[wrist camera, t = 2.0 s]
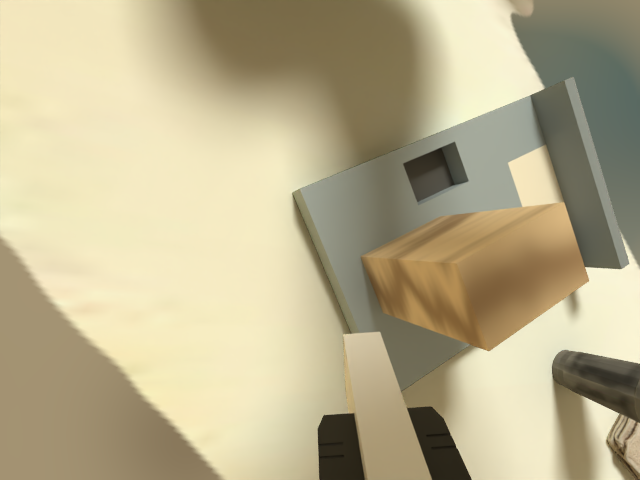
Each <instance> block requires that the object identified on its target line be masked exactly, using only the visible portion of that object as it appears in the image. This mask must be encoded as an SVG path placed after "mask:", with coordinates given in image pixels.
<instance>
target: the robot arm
mask: <svg viewBox="0 0 640 480" xmlns="http://www.w3.org/2000/svg"><path fill="white" fill-rule="evenodd" d="M343 345H344V368H345V390H346V397H347V404H348V411H349V414H335V415H324V416H323V418H322V420H321V423H320V425H319V427H318V449H319V479H320V480H472V479H471V477H470V475H469V473H468V471H467V469H466V466H465V464H464V462H463V460H462V458H461V456H460V453H459V451H458V449H456V445H455V443H454V440H453V438H452V436H451V435H450V432H449V430H448V428H447V425H446V423H445V421H444V419H443V418H442V417H441V416H440V415H439V414H438V413H437V412H436V411H435V410H434V409H433V408H432V407H417V408H407V407H406V404H405V402H404V399H403V396H402V393H401V390H400V387H399V385H398V382H397V379H396V376H395V373H394V370H393V367H392V365H391V362H390V359H389V356H388V353H387V350H386V348H385V345H384V342H383V339H382V336H381V333H380V332H369V333H354V334H343Z"/></svg>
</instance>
